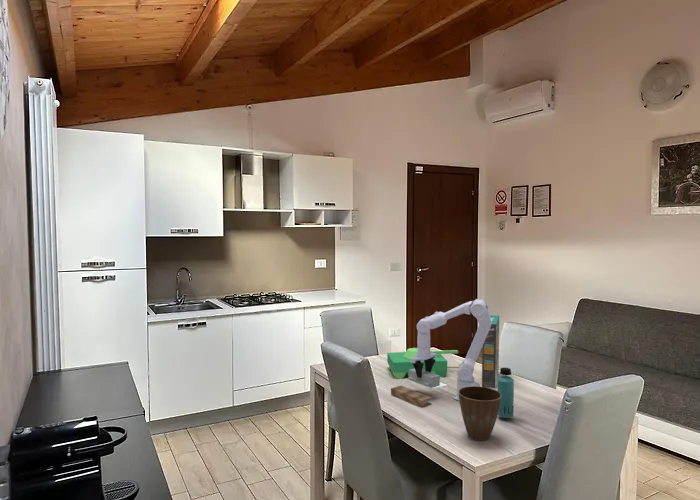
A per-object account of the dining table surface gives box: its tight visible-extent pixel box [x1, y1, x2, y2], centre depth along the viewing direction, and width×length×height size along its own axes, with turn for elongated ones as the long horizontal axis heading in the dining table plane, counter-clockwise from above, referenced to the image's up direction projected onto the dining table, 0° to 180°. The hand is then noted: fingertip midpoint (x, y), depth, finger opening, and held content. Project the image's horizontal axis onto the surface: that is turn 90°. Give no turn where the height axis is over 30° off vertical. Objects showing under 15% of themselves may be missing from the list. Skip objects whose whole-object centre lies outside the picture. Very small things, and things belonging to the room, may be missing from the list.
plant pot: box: [458, 386, 501, 442], centre depth 178 cm, size 15×15×16 cm
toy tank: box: [386, 347, 459, 379], centre depth 253 cm, size 18×12×35 cm
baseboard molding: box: [432, 348, 460, 369], centre depth 275 cm, size 31×3×12 cm
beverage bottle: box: [496, 367, 515, 419], centre depth 194 cm, size 6×7×20 cm
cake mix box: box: [481, 314, 500, 389], centre depth 239 cm, size 22×6×30 cm, turn 160°
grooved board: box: [390, 385, 432, 408], centre depth 215 cm, size 19×6×3 cm, turn 37°
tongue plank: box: [407, 368, 441, 389], centre depth 219 cm, size 14×6×4 cm, turn 37°
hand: (423, 376), depth 220 cm, fingers closed on tongue plank, 5 cm apart
